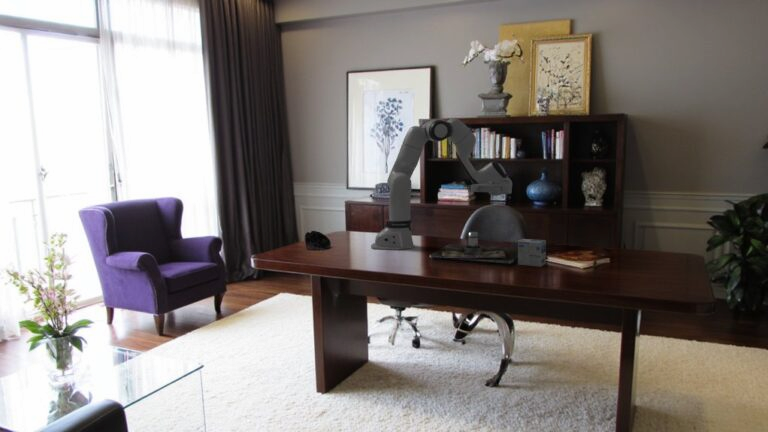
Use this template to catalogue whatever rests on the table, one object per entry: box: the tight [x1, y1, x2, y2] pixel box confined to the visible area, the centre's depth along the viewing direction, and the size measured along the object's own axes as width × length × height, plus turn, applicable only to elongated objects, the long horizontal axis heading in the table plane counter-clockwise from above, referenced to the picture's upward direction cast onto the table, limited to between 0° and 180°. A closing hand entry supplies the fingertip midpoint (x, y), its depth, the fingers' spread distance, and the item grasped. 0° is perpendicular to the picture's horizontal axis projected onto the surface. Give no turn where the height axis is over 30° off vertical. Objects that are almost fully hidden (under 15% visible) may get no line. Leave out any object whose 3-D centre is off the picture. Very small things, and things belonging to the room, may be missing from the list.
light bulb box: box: [517, 238, 547, 268], centre depth 244 cm, size 11×7×11 cm, turn 58°
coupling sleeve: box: [467, 231, 479, 249], centre depth 263 cm, size 5×5×10 cm
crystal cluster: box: [304, 230, 332, 251], centre depth 294 cm, size 13×14×10 cm
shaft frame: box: [441, 244, 506, 257], centre depth 263 cm, size 29×10×5 cm, turn 82°
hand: (485, 189), depth 277 cm, fingers open, 8 cm apart
